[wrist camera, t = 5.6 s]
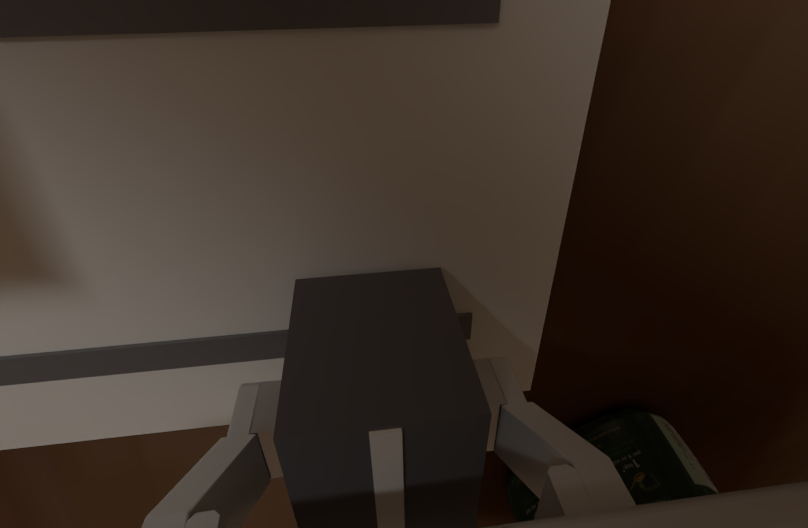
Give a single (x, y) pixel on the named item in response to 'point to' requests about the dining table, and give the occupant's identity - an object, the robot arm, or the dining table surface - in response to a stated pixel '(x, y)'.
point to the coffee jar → (633, 461)
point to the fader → (380, 405)
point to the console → (266, 186)
